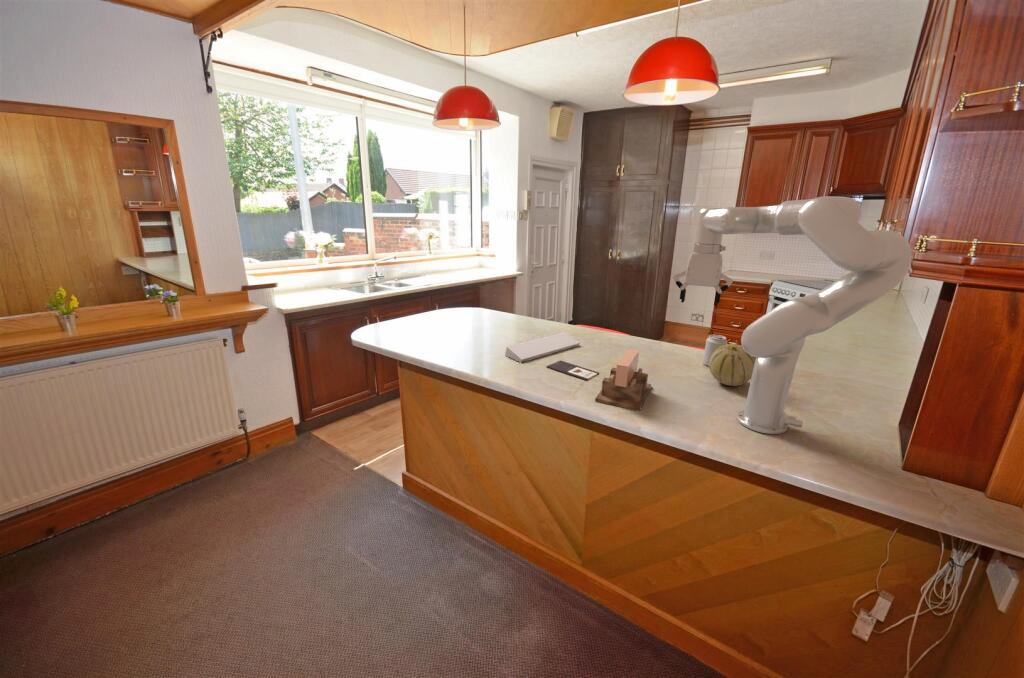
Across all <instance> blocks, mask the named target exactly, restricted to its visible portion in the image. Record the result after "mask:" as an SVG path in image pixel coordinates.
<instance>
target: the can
mask: <svg viewBox="0 0 1024 678" xmlns="http://www.w3.org/2000/svg"><path fill="white" fill-rule="evenodd" d="M727 344H728V340H727V337H726V336H724V335H721V334H710V335H708V338H706V340H705V347H704V351H703V358H702V363H703V364H704V366H707V367H708V368H709V360H710V358H711V355H712V354H713V353H714V352H715V351H716V349H718V348H719V347H721V346H723V345H727Z"/></svg>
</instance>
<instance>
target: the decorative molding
mask: <svg viewBox="0 0 1024 678" xmlns="http://www.w3.org/2000/svg"><path fill="white" fill-rule="evenodd" d="M579 345H580V341H578V340H577V339H576V338H574V337H573V336H571V335H570V334H568V333H567V332H565V331H563V332H559V333H556V334H555V333H554V334H551V335H548V336H545V337H544V336H543V337H539V338H536V339H532V340H531V339H530V340H528V341H524V342H520V343H516V344H512V345H508V346H506V349H505V353H504V356H505V357H507V356H508V357H507V358H509V357H510V358H509V359H512V360H514V361H516V360H517V361H516V362H518V361H519V362H518V363H523V361H524V362H527V361H530V359H531V360H535V359H537V358H540V357H544V356H547V355H551V354H553V353H558V352H561V351H564V350H567V349H571V348H572V349H573V348H575V347H578V346H579Z"/></svg>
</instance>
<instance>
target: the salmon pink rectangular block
mask: <svg viewBox="0 0 1024 678" xmlns="http://www.w3.org/2000/svg"><path fill="white" fill-rule="evenodd" d="M639 355H640V351H639V350H635V349H628V350H627V351H626V352H625V353H624V355H623V356H622V357H621V358H620V360H619V361H618V362H617V363H616V367H615V368H616V379H615V385H617V386H622V387H627V385H628V383H629V382H630V380H631V379H632V377H633V376H634V374H635V372H638V363H639V362H638V361H639Z"/></svg>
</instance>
